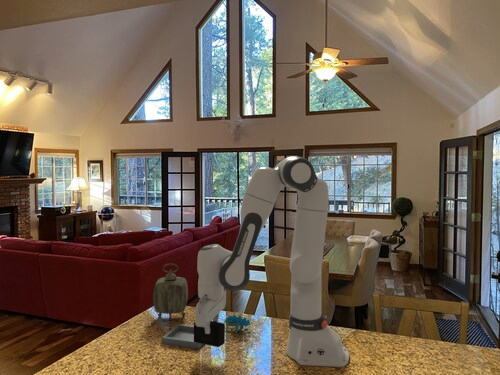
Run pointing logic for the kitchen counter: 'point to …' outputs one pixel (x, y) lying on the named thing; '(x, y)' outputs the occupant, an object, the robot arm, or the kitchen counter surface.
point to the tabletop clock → (170, 294)
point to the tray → (181, 337)
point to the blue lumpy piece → (236, 322)
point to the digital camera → (214, 337)
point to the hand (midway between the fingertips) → (211, 329)
